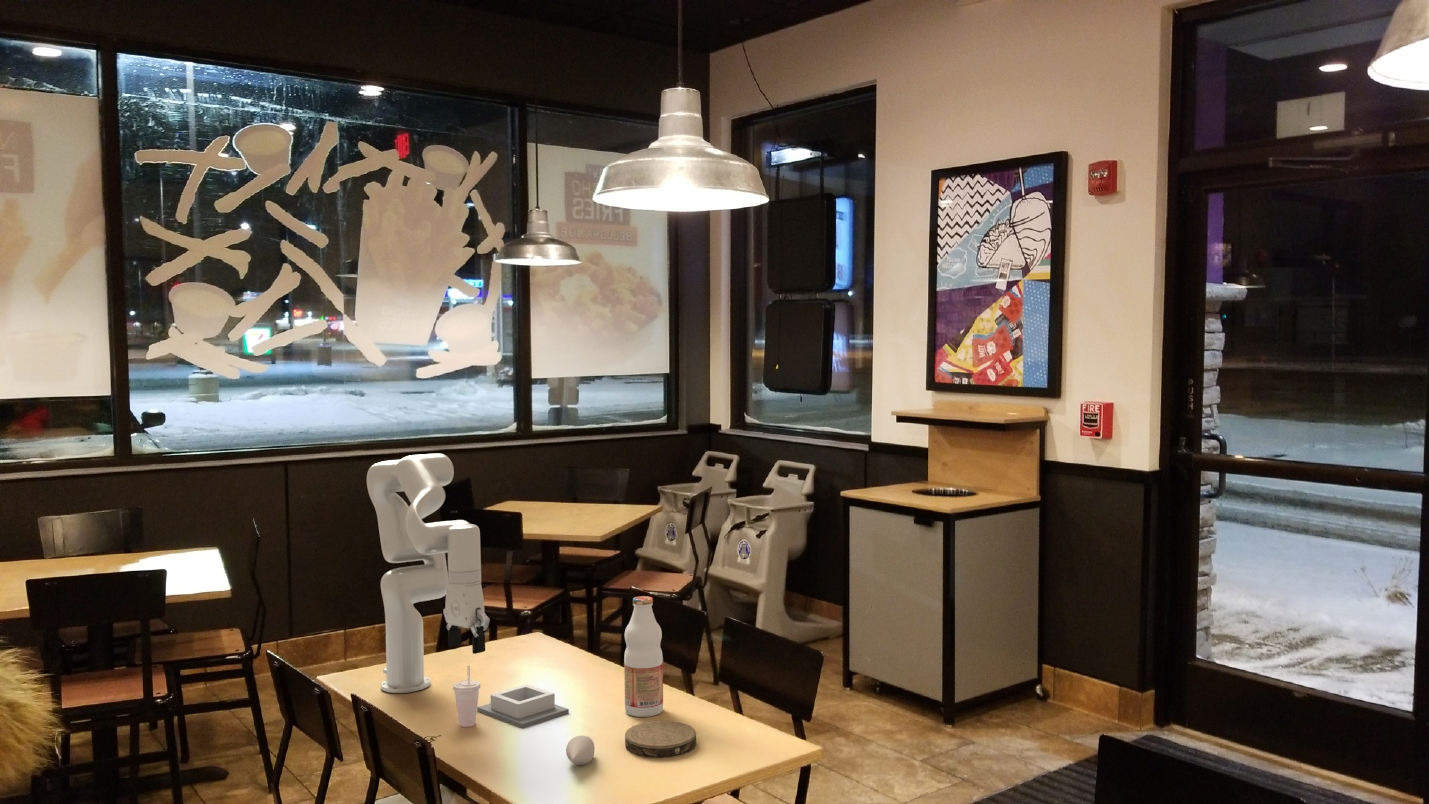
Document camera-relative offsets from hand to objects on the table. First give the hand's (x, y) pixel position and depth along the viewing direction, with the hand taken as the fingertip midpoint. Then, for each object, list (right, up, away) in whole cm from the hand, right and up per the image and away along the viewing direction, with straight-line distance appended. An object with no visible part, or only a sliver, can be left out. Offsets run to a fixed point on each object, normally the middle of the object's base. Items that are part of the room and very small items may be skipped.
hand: (466, 649), depth 253 cm
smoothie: (0, -18, +1) cm, 18 cm away
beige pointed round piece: (+30, -19, -25) cm, 44 cm away
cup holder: (+12, -18, +9) cm, 23 cm away
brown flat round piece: (+46, -19, -13) cm, 52 cm away
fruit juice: (+41, -18, +9) cm, 46 cm away
